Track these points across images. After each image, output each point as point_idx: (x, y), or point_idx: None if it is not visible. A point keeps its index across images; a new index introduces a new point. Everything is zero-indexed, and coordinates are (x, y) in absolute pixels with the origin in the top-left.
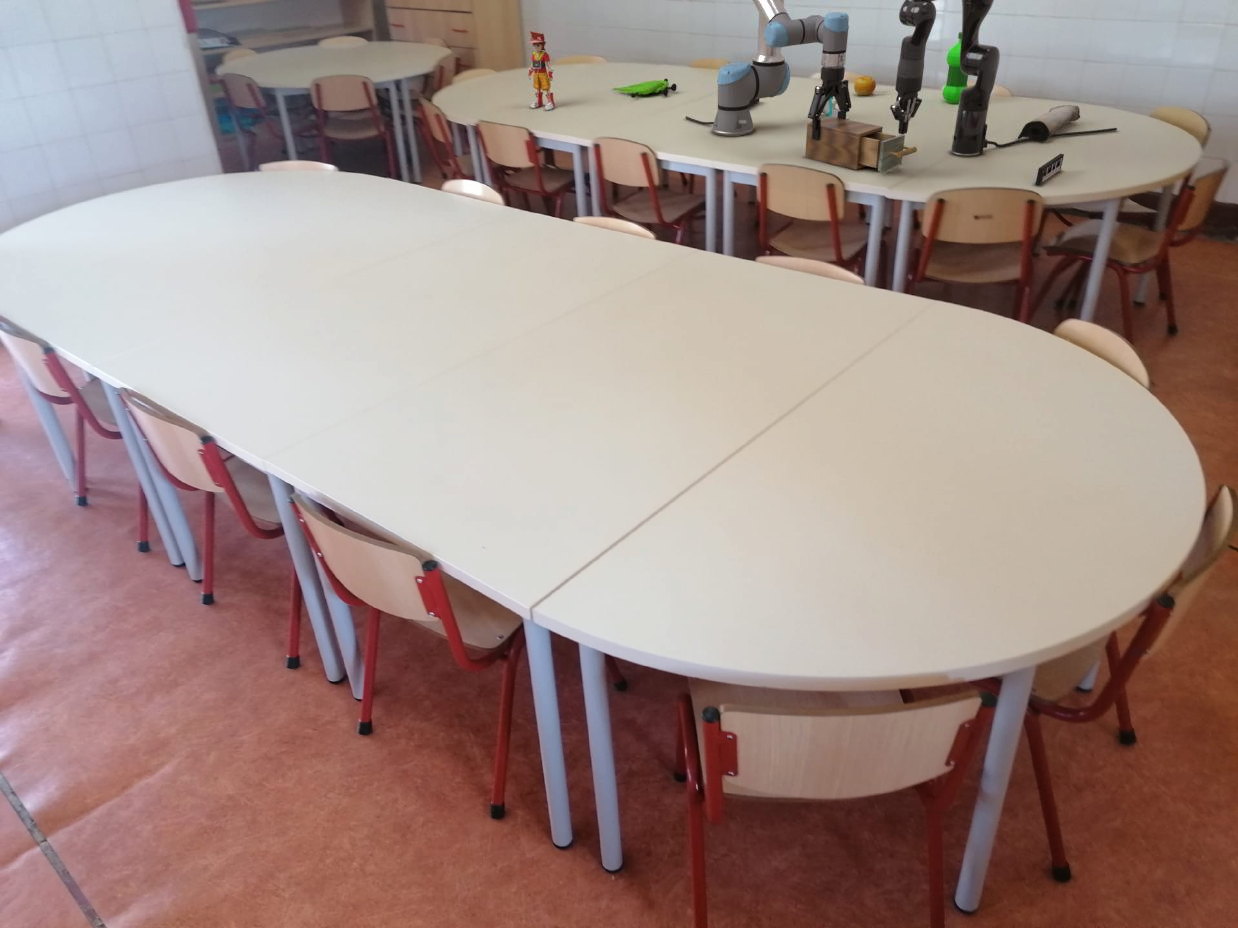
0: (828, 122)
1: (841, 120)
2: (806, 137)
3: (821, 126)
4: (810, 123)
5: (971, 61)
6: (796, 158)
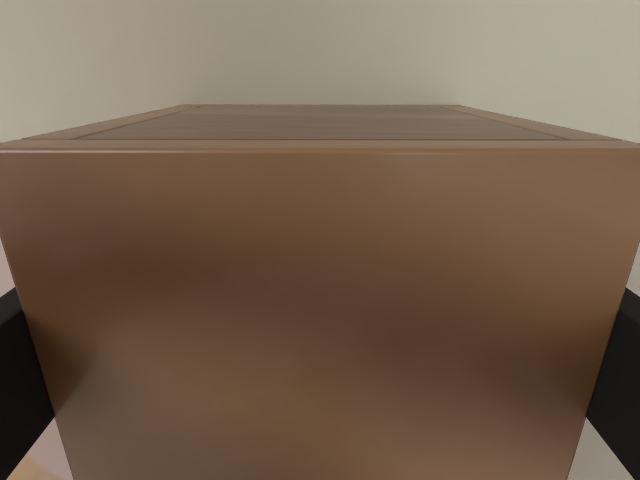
0: (280, 387)
1: (492, 444)
2: (106, 121)
3: (60, 430)
4: (9, 214)
5: None
6: (111, 64)
